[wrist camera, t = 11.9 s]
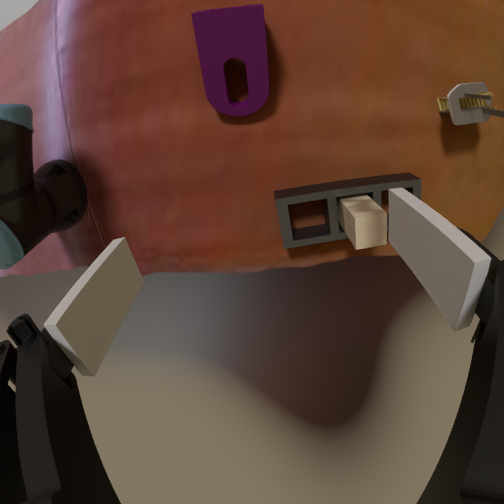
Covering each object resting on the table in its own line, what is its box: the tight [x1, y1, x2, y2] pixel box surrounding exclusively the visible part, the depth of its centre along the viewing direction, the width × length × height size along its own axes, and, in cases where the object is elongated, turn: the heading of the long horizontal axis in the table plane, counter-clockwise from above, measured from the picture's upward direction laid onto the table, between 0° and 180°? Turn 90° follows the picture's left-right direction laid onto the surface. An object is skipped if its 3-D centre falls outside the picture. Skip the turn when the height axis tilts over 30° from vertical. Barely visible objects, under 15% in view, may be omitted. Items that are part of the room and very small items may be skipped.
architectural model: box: [437, 83, 504, 125], centre depth 30 cm, size 21×25×14 cm
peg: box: [336, 193, 387, 250], centre depth 42 cm, size 5×5×12 cm
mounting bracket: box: [191, 4, 269, 116], centre depth 35 cm, size 9×8×18 cm
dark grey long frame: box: [274, 173, 421, 249], centre depth 46 cm, size 26×9×4 cm, turn 102°
